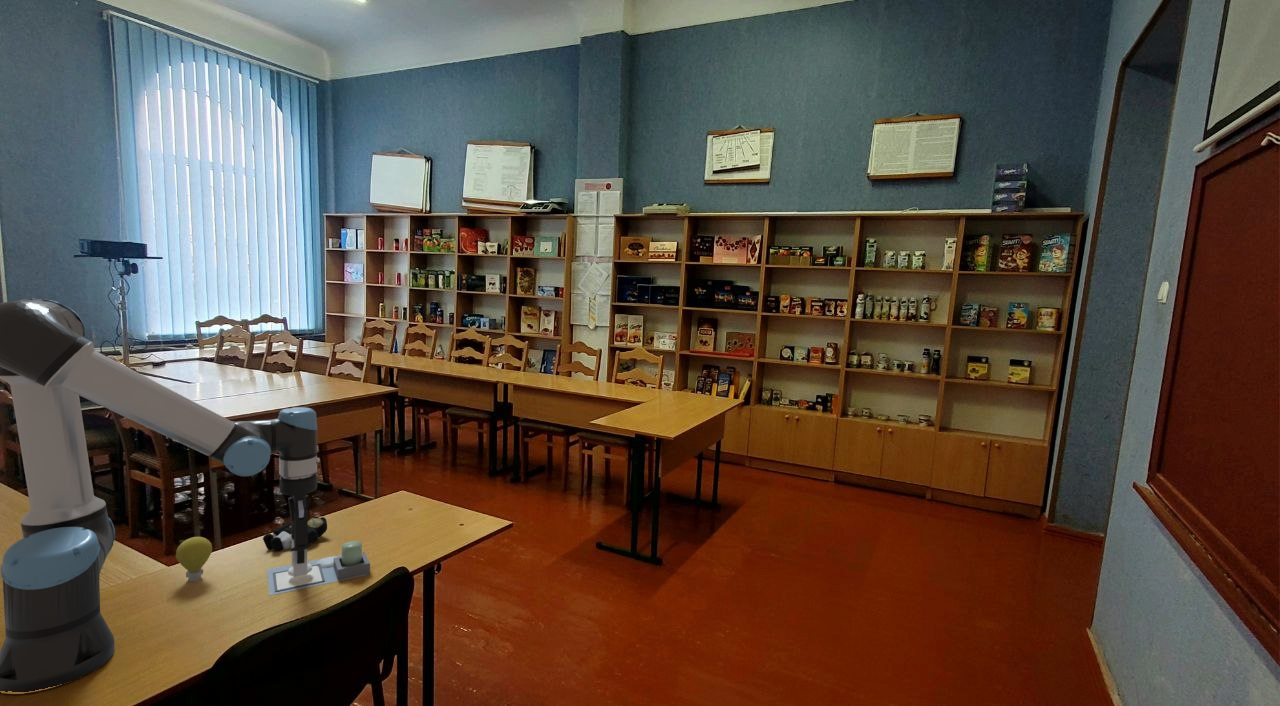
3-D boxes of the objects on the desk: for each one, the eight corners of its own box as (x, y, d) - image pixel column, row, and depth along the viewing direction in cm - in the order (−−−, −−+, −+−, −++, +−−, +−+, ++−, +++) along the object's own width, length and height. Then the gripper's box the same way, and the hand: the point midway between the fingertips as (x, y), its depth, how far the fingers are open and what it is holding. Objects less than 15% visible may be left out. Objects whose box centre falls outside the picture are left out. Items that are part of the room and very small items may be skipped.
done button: (343, 568, 135) (343, 550, 135) (340, 560, 139) (340, 543, 138) (363, 564, 138) (363, 546, 137) (360, 557, 141) (360, 539, 141)
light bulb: (215, 579, 132) (215, 538, 131) (179, 589, 127) (178, 546, 126) (209, 569, 137) (208, 529, 136) (173, 578, 132) (173, 537, 131)
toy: (253, 532, 149) (307, 501, 161) (261, 556, 151) (314, 524, 163) (280, 545, 143) (334, 511, 155) (288, 569, 145) (341, 534, 157)
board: (269, 599, 125) (269, 584, 125) (267, 572, 137) (267, 559, 136) (370, 577, 137) (370, 564, 137) (360, 554, 149) (360, 542, 148)
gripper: (321, 483, 126) (321, 582, 129) (313, 462, 141) (313, 551, 143) (281, 488, 122) (283, 591, 124) (277, 466, 136) (278, 558, 139)
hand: (299, 569), depth 134 cm, fingers closed on chess piece, 5 cm apart
